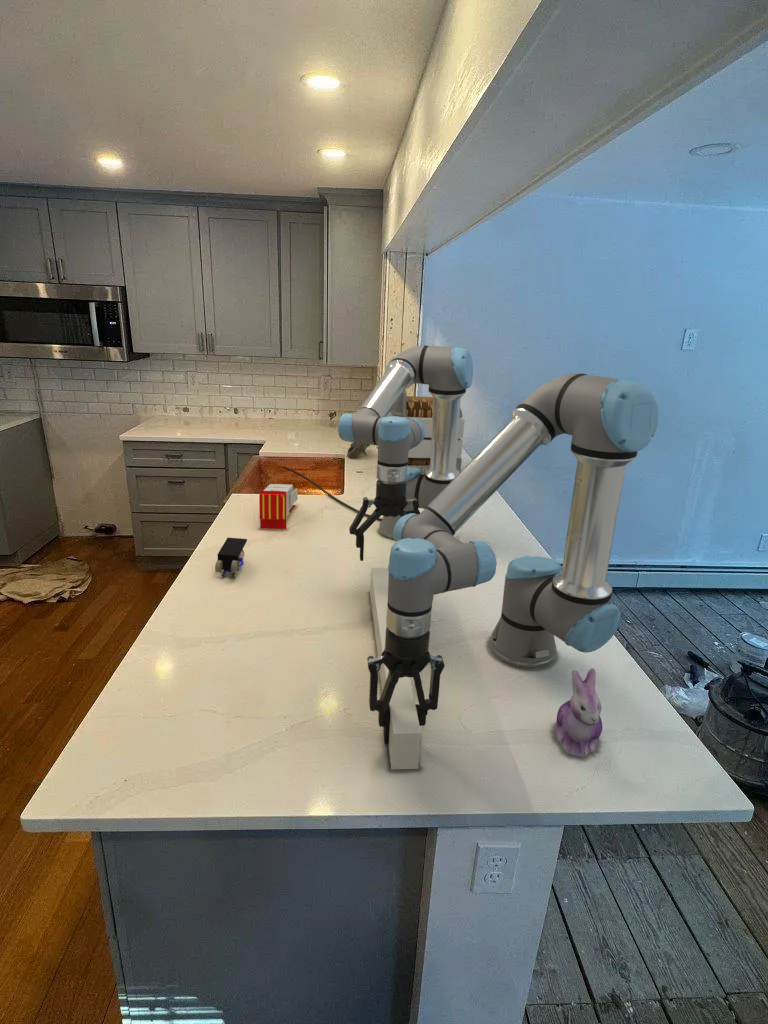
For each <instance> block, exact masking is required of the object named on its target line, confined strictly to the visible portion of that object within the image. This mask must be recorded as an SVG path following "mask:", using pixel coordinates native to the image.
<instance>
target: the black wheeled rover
mask: <svg viewBox="0 0 768 1024" xmlns="http://www.w3.org/2000/svg"><path fill="white" fill-rule="evenodd" d="M247 542H248V538H240V537H226V539H225V541H224V543H223V544H222V546H221V547H220V549H219V551H218V552H217V560H216V562H215V564H214V572H215V573H221V577H222V578H224V577H225V576H226V574H227V573H230V574H231V573H232V574H231V578H234V577H235V575H236V573H237V572H239V571H240V567H242V566H243V565H244V564H245V562H244V558H245V551H244V547H245V546H246V544H247Z"/></svg>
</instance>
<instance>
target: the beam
mask: <svg viewBox="0 0 768 1024" xmlns="http://www.w3.org/2000/svg"><path fill="white" fill-rule="evenodd" d="M388 577H389V573H388V567H371V568H370V583H369V584H370V586H369V595H370V606H371V613H372V620H373V628H374V629H373V630H374V636H375V644H376V654H377V657H379V656H382V653H383V651H384V649H385V636H386V627H387V626H386V617H387V603H388ZM378 672H379V679H380V686H381V692H382V691H383V688H384V686H385V683H386V680H387V677H388V673H389V670H388V668H387V667H386V666H385V665H384V663H383V664H382V665H381V669H380V670H379V671H378ZM415 700H416V699H415V695H414V691H413V686H412V680H411V678H410V677H402V678H399V680H398V683H397V684H396V686H395V689H394V692H393V694H392V697H391V700H390V703H389V708H390V730H389V744H387V745H388V746H387V747H388V753H389V761H390V770H393V771H394V770H396V771H397V770H419V763H420V752H421V738H422V729H421V726H420V725H419V720H418V715H417V710H416V705H415V704H416V701H415Z"/></svg>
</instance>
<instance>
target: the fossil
mask: <svg viewBox="0 0 768 1024" xmlns="http://www.w3.org/2000/svg"><path fill="white" fill-rule="evenodd" d="M370 446H371V445H369V444H360V443H353V442H351V443H350V446H349V448H348V449H347V457H348V458H349V459H355V458H357V457H359V456H360V455H361V454H362V453H364V455H367V453H366V450H367V448H368V447H370Z"/></svg>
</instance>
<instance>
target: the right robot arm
mask: <svg viewBox="0 0 768 1024" xmlns="http://www.w3.org/2000/svg"><path fill="white" fill-rule="evenodd" d="M659 419H660V410H659V405H658V400H657V398H656V396H655V395H654V394H653V392H652V390H651V389H650V388H649V387H647V386H646V385H644V384H642V383H639V382H634V381H631V380H628V379H626V378H616V377H610V376H601V375H592V374H587V373H582V372H572V373H566V374H563V375H560V376H557V377H555V378H553V379H551V380H549V381H547V382H546V383H544V384H543V385H541V386H540V387H538V388H536V389H535V390H534V391H533V392H531V393H530V394H529V395H528V396H526V397H525V398H524V399H523V400H522V401H521V402H520V403H519V404H518V405H516V407H515V408H514V409H513V410H512V412H511V420H510V421H508V423H507V424H505V426H503V427H502V428H501V430H499V432H498V433H497V434H496V435H495V436H494V437H493V438H492V439H491V440H490V441H489V442H488V443H487V444H486V445H484V447H483V448H482V449H481V450H480V451H479V452H478V453H477V454H476V455H475V456H474V457H473V459H471V461H469V462H468V464H467V465H466V466H465V467H463V468H462V469H461V472H460V473H459V474H458V475H457V476H456V477H455V478H454V479H453V480H452V481H451V482H450V483H449V484H448V485H447V486H446V487H445V488H444V489H443V490H442V492H441V493H440V494H439V495H438V496H437V497H436V498H435V499H434V500H433V501H432V502H431V503H430V504H429V505H428V506H427V507H426V508H425V509H423V510H422V511H420V514H415V513H410V514H407V515H405V516H402V517H401V518H400V519H399V520H398V521H397V523H396V525H395V527H394V533H393V535H394V539H393V540H394V543H393V544H392V546H391V547H390V554H389V561H388V566H387V568H388V573H389V577H388V603H387V617H386V626H387V627H386V636H385V649H384V651H383V653H382V656H379V657H378V656H376V657H374V656H373V655H369V656H367V658H366V660H367V662H366V663H367V668H368V672H369V689H368V690H369V693H368V701H369V703H368V705H369V711H371V712H378V717H377V719H378V720H377V721H378V726H379V728H383V742H384V743H383V744H384V745H388V744H389V730H390V708H389V703H390V700H391V697H392V694H393V692H394V689H395V686H396V684H397V683H398V680H399V678H402V677H410V679H411V678H413V683H414V688H415V693H416V696H417V701H418V703H415V705H416V710H417V715H418V720H419V725H420V727H424V726H425V725H426V722H427V716H428V714H429V712H428V711H430V710H431V711H435V710H437V709H438V705H439V694H440V686H441V685H440V683H441V675H442V673H443V671H444V669H445V666H446V665H445V662H444V659H443V656H442V655H441V654H438V655H436V656H434V655H432V654H431V653H430V651H429V649H430V637H431V632H430V629H431V625H432V623H431V622H432V610H433V602H434V596H435V595H439V594H445V593H447V592H448V593H449V592H453V591H457V590H462V589H467V588H475V587H477V586H479V585H481V584H485V583H487V582H490V581H492V579H493V578H494V576H495V575H496V572H497V566H498V565H497V557H496V554H495V552H494V549H493V548H492V547H491V545H490V544H488V543H487V542H485V541H484V540H483V541H482V540H475V541H474V540H470V541H468V542H464V541H463V540H460V539H459V538H457V537H455V535H456V534H457V532H458V531H459V530H460V529H461V528H462V527H463V526H464V525H465V524H466V523H467V522H468V521H469V520H470V519H471V517H473V515H475V514H476V513H477V512H478V511H479V509H480V508H482V506H483V505H484V504H485V503H486V502H487V501H488V500H489V499H490V498H491V497H492V496H493V495H494V494H495V493H496V492H497V490H499V489H500V487H501V486H502V485H503V484H504V483H505V482H506V481H507V480H508V479H509V478H510V477H511V476H512V475H513V474H514V473H515V472H516V471H517V470H518V469H519V468H520V467H521V466H522V464H524V463H525V461H526V460H527V459H528V458H529V457H530V456H531V455H532V454H533V453H534V452H535V451H536V450H537V449H538V448H539V447H540V446H548V445H550V443H551V442H552V441H553V440H554V439H555V438H556V437H558V436H561V435H565V434H566V435H568V436H571V443H570V452H571V453H572V455H573V456H574V457H575V458H576V460H577V461H576V467H575V476H574V481H573V482H574V483H573V489H572V495H571V496H572V497H571V503H570V509H569V517H568V524H567V532H566V538H565V545H564V552H563V557H562V558H563V559H562V565H561V563H560V562H559V561H558V560H556V559H554V558H553V559H552V558H549V557H545V556H540V555H539V556H536V555H526V556H520V557H519V556H518V557H515V558H514V559H512V560H510V562H509V563H508V565H507V568H506V574H505V576H504V587H503V595H502V605H501V613H500V617H499V619H498V621H497V623H496V624H495V627H494V629H493V630H492V632H491V635H490V637H489V649H490V651H491V653H492V654H493V655H494V656H495V657H496V658H497V659H499V660H500V661H501V662H504V663H505V664H508V665H511V666H514V667H516V668H522V669H532V670H533V669H542V668H545V667H547V666H549V665H551V664H552V663H553V662H554V661H555V660H556V654H557V644H556V640H555V638H557V639H559V640H561V641H562V642H564V644H565V645H566V646H568V647H571V648H573V649H574V650H576V651H578V652H581V653H585V654H587V653H592V652H595V651H598V650H599V649H600V648H602V647H603V646H605V645H606V644H607V643H608V642H609V641H610V640H611V639H612V638H613V636H614V635H615V634H616V632H617V630H618V628H619V626H620V625H621V624H620V623H621V620H622V613H621V610H620V609H619V607H617V605H616V604H615V603H612V602H611V601H612V596H613V585H612V583H610V582H609V580H608V579H607V577H608V570H609V565H610V559H611V553H612V548H613V544H614V543H613V542H614V537H615V531H616V526H617V521H618V520H617V519H618V515H619V508H620V503H621V497H622V492H623V491H622V490H623V486H624V479H625V473H626V468H627V465H628V464H630V463H631V462H633V461H634V460H636V459H637V457H638V452H639V451H642V450H644V449H645V448H646V447H647V446H649V444H650V443H651V442H652V439H651V438H653V437H655V435H656V432H657V430H658V426H659ZM383 663H384V665H385V666H386V667H387V668H388V670H389V673H388V677H387V680H386V683H385V686H384V688H383V691H382V690H381V695H380V697H379V699H378V686H379V674H378V672H380V671H379V670H380V669H381V665H382V664H383ZM428 665H429V667H430V678H429V689H428V698H426V697H425V693H424V689H423V683H422V678H421V673H422V671H423V670H424V669H425V668H426V667H427V666H428Z"/></svg>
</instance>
